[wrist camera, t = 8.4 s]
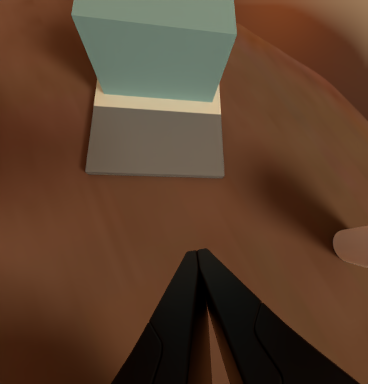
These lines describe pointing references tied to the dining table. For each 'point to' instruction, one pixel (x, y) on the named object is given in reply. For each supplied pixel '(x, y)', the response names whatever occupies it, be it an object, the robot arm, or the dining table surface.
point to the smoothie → (352, 245)
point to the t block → (157, 45)
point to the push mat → (155, 137)
